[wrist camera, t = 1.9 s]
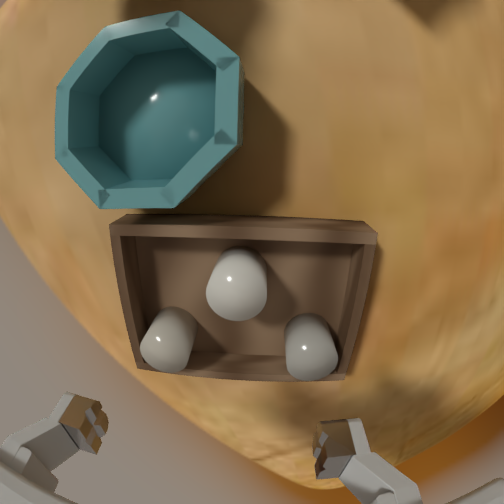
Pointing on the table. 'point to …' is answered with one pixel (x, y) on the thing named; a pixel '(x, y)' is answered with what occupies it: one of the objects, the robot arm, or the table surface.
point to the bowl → (149, 112)
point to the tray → (278, 285)
